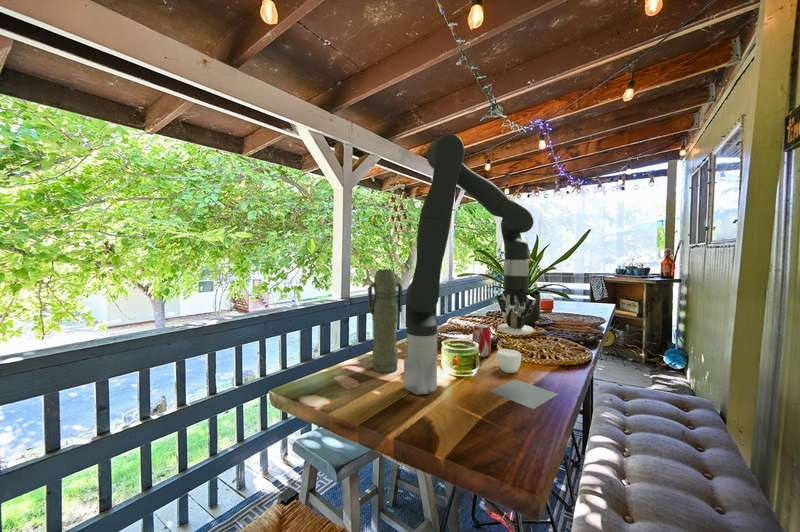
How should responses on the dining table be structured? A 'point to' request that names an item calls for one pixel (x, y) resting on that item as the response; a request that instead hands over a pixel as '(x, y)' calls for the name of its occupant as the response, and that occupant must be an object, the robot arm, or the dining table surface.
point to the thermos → (385, 320)
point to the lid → (515, 326)
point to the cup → (508, 360)
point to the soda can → (482, 338)
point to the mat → (524, 393)
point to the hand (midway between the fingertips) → (515, 326)
